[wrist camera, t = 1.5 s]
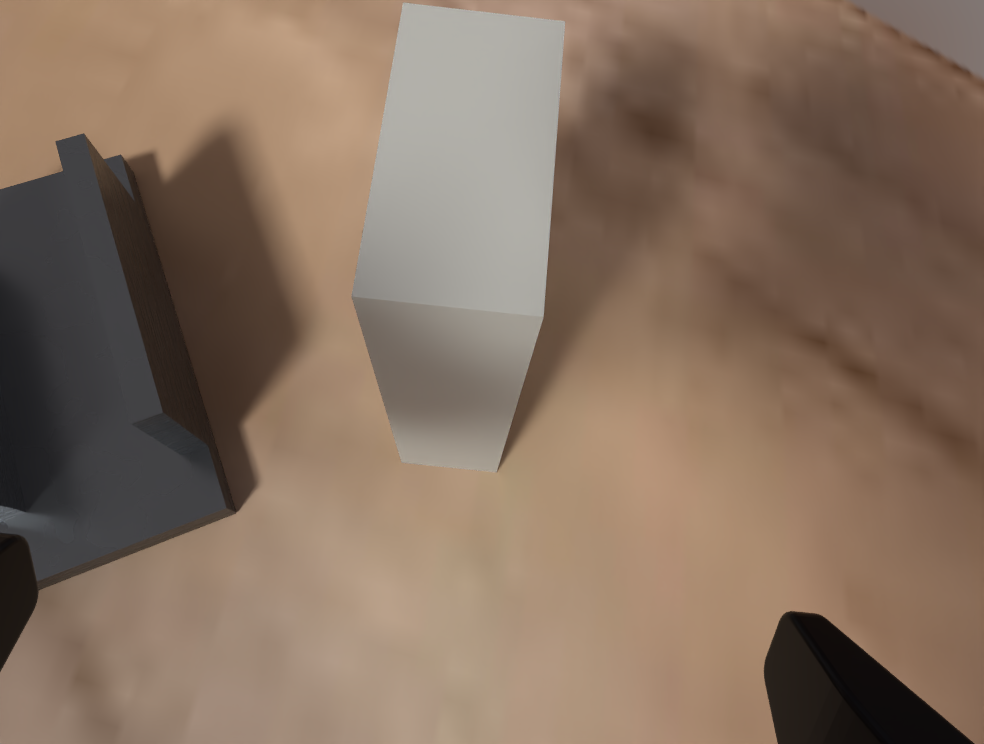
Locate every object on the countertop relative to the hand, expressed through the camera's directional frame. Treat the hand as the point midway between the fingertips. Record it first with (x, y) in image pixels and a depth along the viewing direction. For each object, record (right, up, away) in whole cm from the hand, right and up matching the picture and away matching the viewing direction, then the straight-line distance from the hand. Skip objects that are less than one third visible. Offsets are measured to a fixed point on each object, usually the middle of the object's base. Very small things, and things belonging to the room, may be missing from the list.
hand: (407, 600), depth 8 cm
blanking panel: (0, +3, +15) cm, 15 cm away
